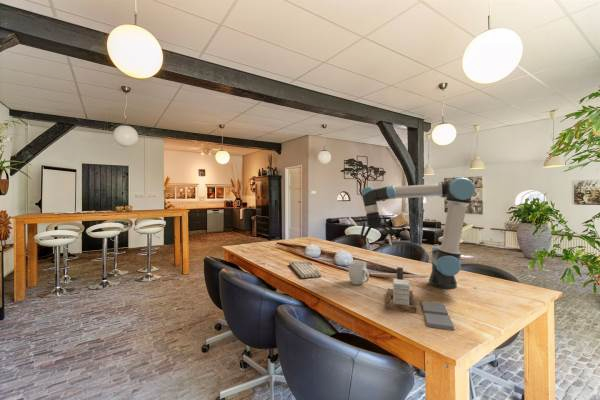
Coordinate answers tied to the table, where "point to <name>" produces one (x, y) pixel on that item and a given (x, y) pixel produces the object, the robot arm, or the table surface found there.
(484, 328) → the table surface
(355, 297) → the table surface
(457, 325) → the table surface
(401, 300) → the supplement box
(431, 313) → the broken grey strip
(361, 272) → the mug
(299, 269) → the mechanical keyboard
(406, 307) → the brown base with post
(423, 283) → the table surface
